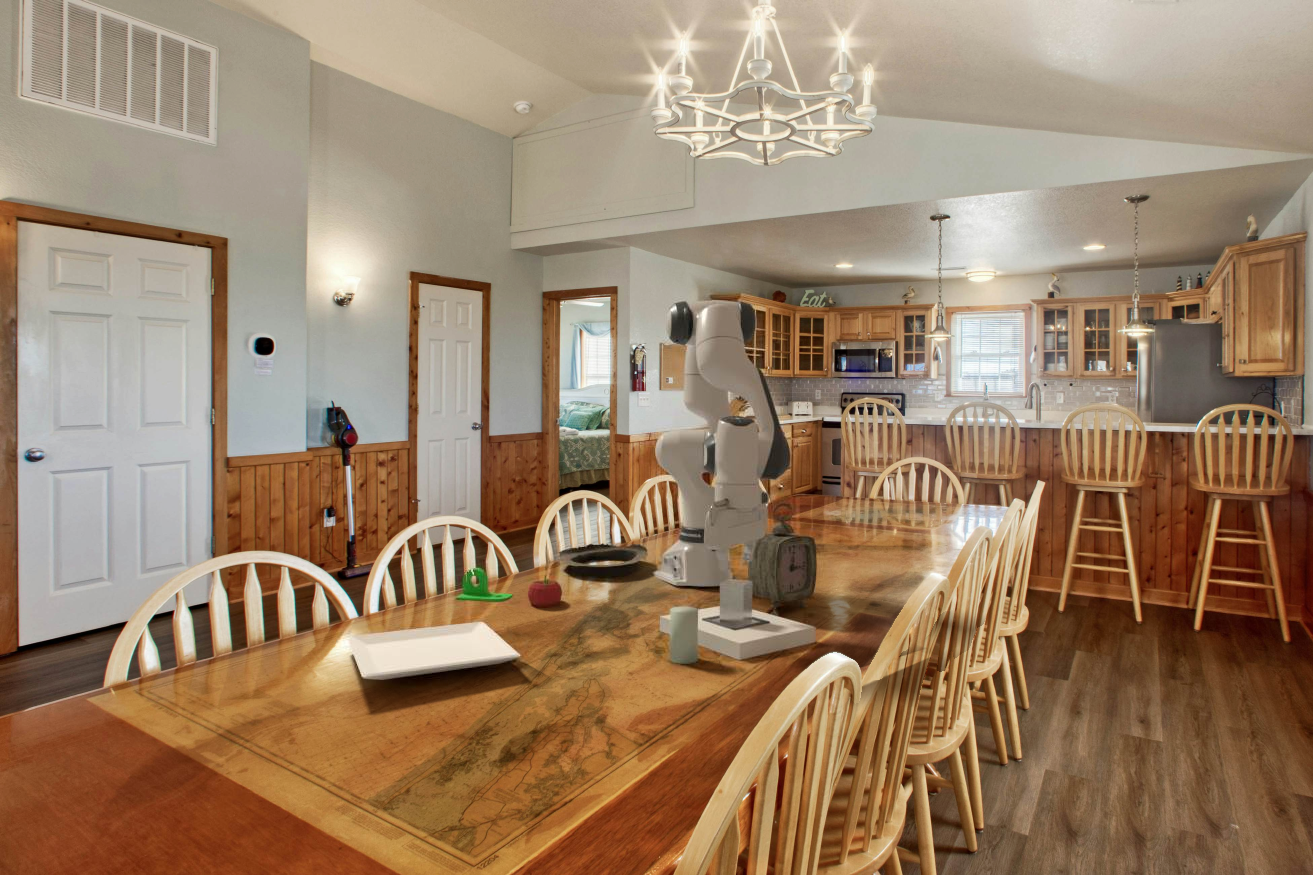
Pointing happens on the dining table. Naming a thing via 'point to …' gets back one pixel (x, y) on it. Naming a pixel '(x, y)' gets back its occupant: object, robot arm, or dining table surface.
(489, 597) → the mechanical part
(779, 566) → the tabletop clock
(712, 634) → the socket board
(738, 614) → the square peg
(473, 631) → the plate
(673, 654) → the round peg
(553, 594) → the tomato
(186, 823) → the dining table surface
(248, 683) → the dining table surface
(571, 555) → the stone bowl
